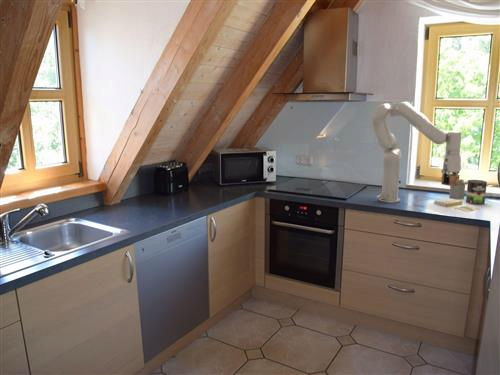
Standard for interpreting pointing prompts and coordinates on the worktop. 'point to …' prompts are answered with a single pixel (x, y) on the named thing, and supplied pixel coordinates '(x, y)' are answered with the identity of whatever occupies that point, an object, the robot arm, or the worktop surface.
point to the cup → (457, 191)
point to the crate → (452, 180)
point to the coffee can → (476, 192)
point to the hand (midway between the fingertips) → (450, 182)
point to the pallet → (467, 208)
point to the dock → (448, 202)
